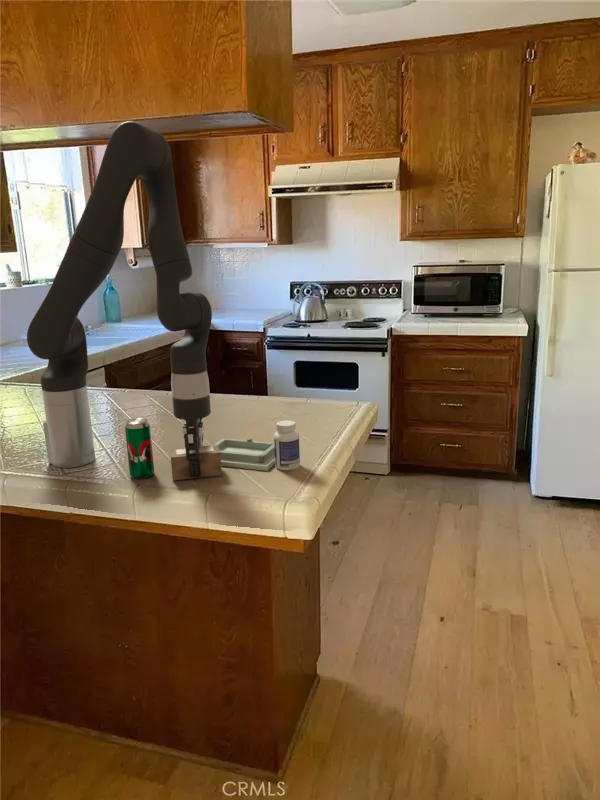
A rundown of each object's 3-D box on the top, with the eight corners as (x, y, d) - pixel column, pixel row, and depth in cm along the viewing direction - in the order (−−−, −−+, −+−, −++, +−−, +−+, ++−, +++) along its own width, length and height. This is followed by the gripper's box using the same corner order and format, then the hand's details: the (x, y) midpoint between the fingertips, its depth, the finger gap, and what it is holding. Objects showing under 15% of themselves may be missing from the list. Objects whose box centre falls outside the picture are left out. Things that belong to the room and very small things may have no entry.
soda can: (156, 470, 132) (151, 416, 129) (152, 479, 127) (146, 423, 124) (133, 471, 132) (127, 417, 129) (127, 480, 127) (121, 424, 124)
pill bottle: (305, 465, 133) (303, 422, 130) (288, 472, 129) (286, 428, 126) (286, 460, 136) (285, 417, 134) (269, 467, 132) (267, 423, 130)
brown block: (172, 480, 126) (170, 456, 125) (171, 471, 131) (170, 448, 129) (221, 475, 128) (220, 451, 127) (219, 466, 133) (217, 444, 132)
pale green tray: (196, 463, 136) (195, 450, 135) (218, 446, 146) (218, 434, 145) (267, 470, 130) (266, 457, 129) (285, 453, 140) (285, 441, 139)
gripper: (207, 401, 118) (212, 483, 123) (211, 383, 132) (216, 458, 137) (167, 403, 118) (174, 485, 122) (175, 385, 132) (181, 460, 136)
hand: (196, 470), depth 129 cm, fingers closed on brown block, 5 cm apart
